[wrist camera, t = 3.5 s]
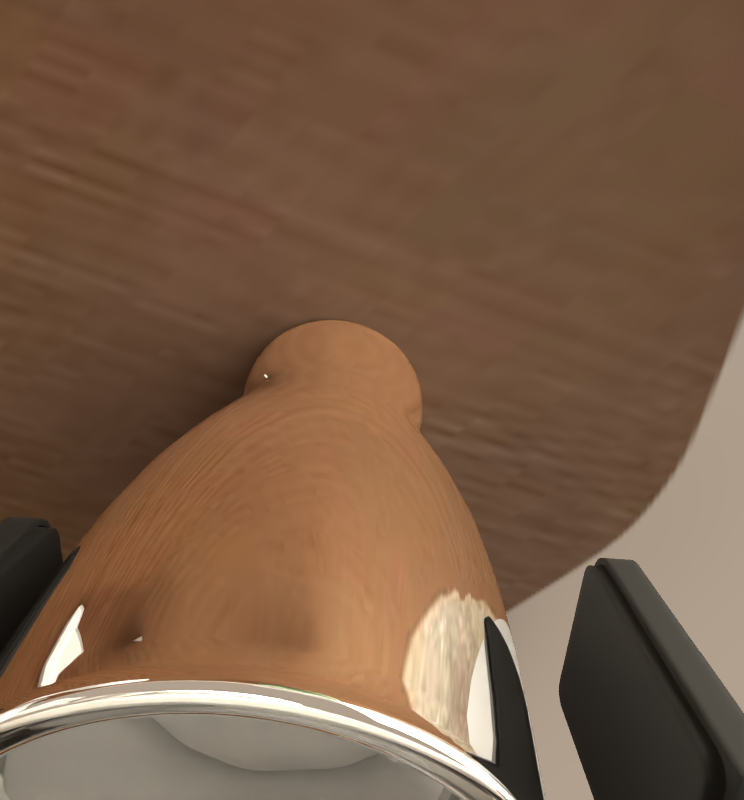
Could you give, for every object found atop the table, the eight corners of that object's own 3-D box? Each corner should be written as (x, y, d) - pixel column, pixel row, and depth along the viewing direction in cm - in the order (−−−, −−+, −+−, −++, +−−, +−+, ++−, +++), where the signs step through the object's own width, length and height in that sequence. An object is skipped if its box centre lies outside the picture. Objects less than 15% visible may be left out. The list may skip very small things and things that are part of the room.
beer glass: (449, 318, 18) (703, 711, 4) (419, 504, 21) (518, 1165, 6) (235, 293, 18) (-263, 622, 4) (229, 484, 20) (-98, 1126, 6)
